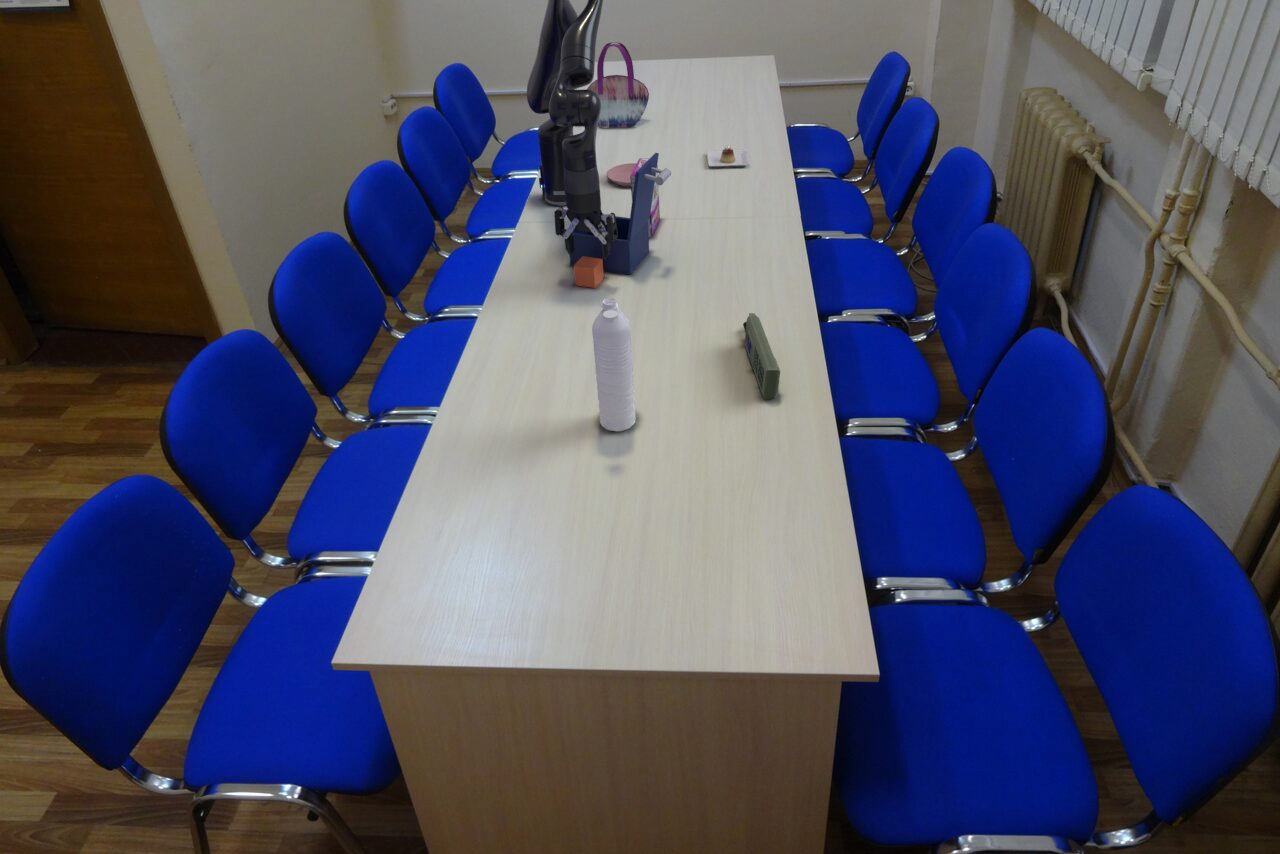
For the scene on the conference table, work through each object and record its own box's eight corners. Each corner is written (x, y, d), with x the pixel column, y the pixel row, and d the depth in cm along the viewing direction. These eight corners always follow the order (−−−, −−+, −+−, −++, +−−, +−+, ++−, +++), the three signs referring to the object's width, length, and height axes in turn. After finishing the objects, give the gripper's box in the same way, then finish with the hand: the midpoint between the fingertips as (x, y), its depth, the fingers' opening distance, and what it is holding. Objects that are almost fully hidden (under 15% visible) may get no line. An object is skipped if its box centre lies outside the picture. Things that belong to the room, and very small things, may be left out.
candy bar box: (641, 218, 224) (638, 157, 214) (660, 219, 223) (658, 158, 213) (632, 237, 215) (629, 174, 205) (652, 238, 214) (649, 175, 204)
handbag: (583, 128, 281) (577, 48, 265) (587, 118, 288) (581, 39, 273) (648, 127, 279) (645, 46, 263) (650, 117, 286) (648, 38, 271)
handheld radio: (760, 400, 159) (737, 329, 178) (778, 399, 159) (752, 329, 179) (764, 370, 155) (739, 301, 174) (782, 369, 155) (755, 301, 175)
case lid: (635, 172, 184) (659, 178, 182) (655, 152, 192) (677, 158, 191) (627, 239, 194) (649, 246, 193) (646, 218, 203) (667, 224, 202)
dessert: (749, 168, 248) (750, 151, 245) (708, 169, 248) (708, 153, 246) (746, 153, 257) (746, 137, 255) (706, 154, 258) (706, 138, 255)
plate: (665, 174, 247) (665, 168, 245) (639, 192, 237) (639, 185, 236) (624, 166, 253) (624, 160, 252) (597, 183, 244) (596, 176, 242)
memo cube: (575, 285, 197) (573, 265, 194) (584, 275, 200) (582, 255, 197) (595, 288, 195) (593, 268, 192) (604, 278, 199) (602, 258, 196)
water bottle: (599, 411, 158) (589, 292, 143) (634, 409, 158) (628, 289, 143) (600, 441, 151) (590, 319, 136) (637, 438, 151) (630, 316, 136)
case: (570, 265, 205) (567, 233, 199) (591, 243, 213) (588, 212, 208) (630, 274, 200) (628, 242, 195) (649, 252, 208) (648, 220, 203)
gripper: (619, 182, 184) (623, 251, 194) (559, 176, 189) (566, 244, 198) (605, 196, 179) (610, 266, 189) (544, 189, 183) (552, 258, 193)
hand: (588, 254), depth 193 cm, fingers open, 8 cm apart
